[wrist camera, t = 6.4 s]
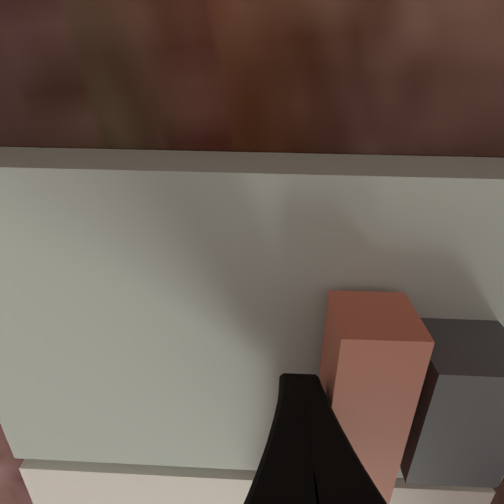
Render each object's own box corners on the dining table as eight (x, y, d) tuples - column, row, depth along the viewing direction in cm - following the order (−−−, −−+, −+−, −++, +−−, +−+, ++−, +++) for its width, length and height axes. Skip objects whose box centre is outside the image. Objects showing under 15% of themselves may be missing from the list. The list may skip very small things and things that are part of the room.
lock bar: (360, 537, 15) (373, 601, 13) (290, 533, 15) (293, 596, 13) (420, 292, 10) (453, 342, 8) (313, 289, 10) (323, 338, 8)
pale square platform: (570, 159, 11) (760, 216, 7) (407, 579, 21) (441, 704, 17) (-33, 145, 11) (-209, 190, 7) (99, 561, 22) (58, 677, 18)
